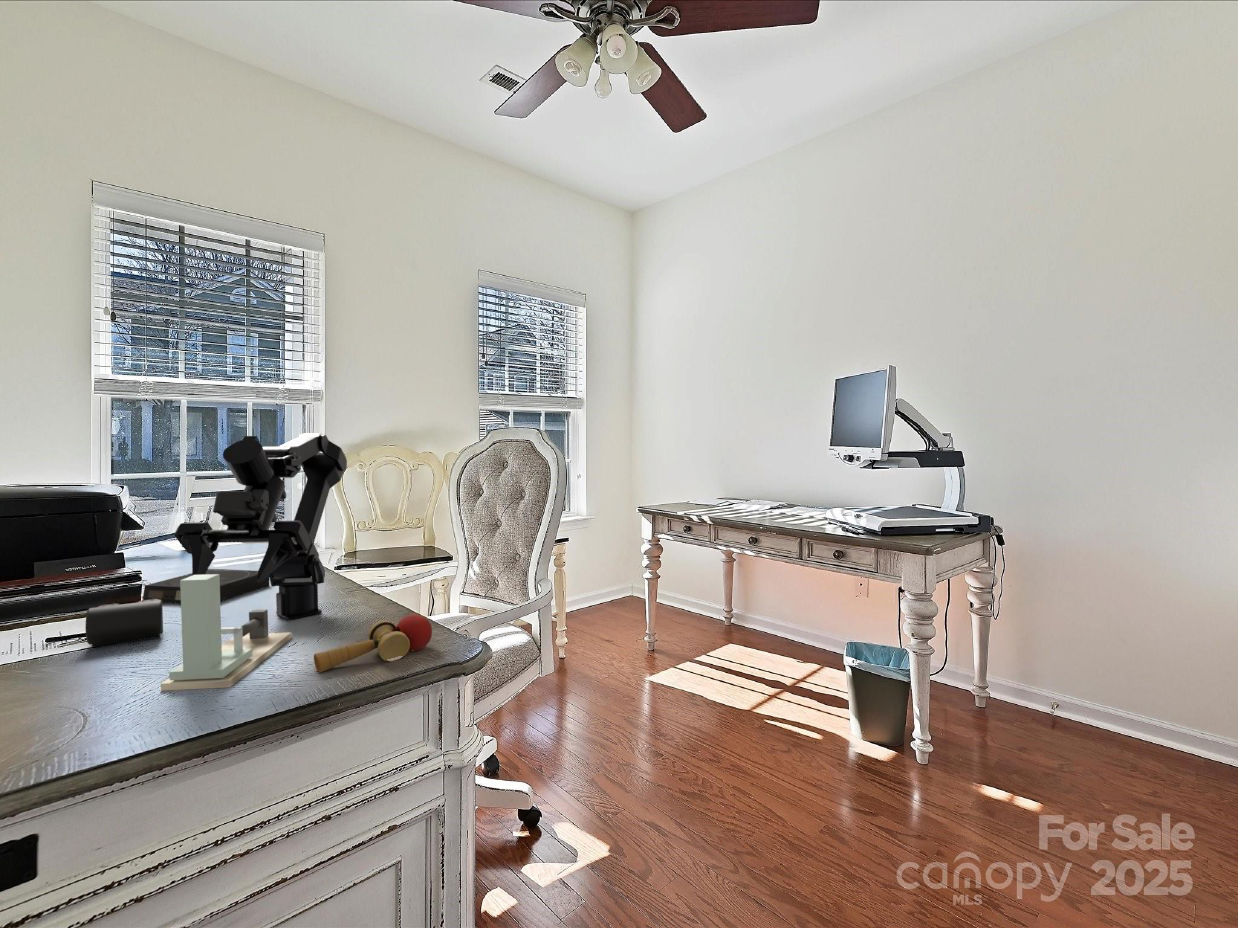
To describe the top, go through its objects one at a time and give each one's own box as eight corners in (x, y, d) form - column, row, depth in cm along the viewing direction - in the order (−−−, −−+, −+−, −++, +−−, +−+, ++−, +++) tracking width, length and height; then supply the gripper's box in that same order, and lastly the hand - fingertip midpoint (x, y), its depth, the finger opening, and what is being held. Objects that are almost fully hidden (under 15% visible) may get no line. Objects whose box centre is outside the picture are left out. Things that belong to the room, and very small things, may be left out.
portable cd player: (142, 604, 128) (142, 586, 128) (209, 584, 145) (209, 568, 145) (209, 608, 125) (208, 589, 125) (269, 587, 142) (269, 571, 142)
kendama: (327, 690, 87) (443, 645, 99) (318, 648, 87) (434, 608, 99) (315, 683, 93) (426, 641, 105) (306, 643, 93) (418, 606, 105)
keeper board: (237, 639, 104) (236, 608, 104) (291, 637, 105) (290, 606, 105) (160, 690, 83) (159, 651, 83) (229, 687, 85) (228, 648, 84)
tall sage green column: (203, 658, 92) (200, 567, 92) (251, 655, 93) (249, 566, 92) (169, 680, 84) (166, 580, 83) (223, 677, 85) (220, 579, 84)
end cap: (86, 653, 98) (84, 612, 98) (93, 641, 104) (91, 602, 104) (162, 641, 104) (160, 603, 103) (164, 630, 110) (163, 594, 109)
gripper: (179, 472, 96) (135, 553, 85) (301, 472, 98) (273, 550, 88) (208, 515, 104) (170, 593, 94) (320, 513, 106) (296, 590, 96)
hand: (226, 581), depth 92 cm, fingers open, 9 cm apart
